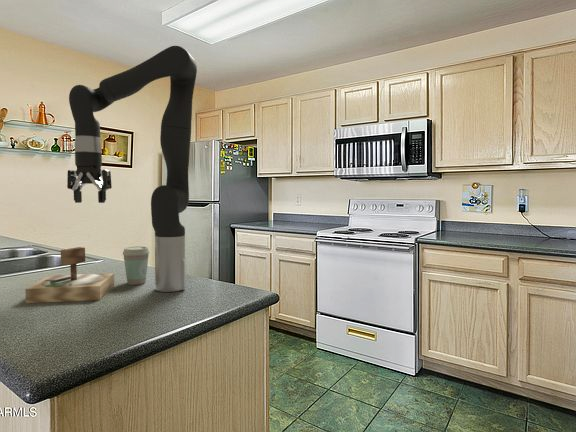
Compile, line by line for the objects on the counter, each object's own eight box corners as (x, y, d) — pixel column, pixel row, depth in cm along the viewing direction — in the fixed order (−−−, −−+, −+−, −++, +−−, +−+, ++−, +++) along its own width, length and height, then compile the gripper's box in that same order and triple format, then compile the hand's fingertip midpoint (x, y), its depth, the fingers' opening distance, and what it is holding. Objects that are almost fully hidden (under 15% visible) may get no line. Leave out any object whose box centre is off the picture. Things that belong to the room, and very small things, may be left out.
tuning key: (79, 276, 117) (79, 247, 116) (85, 277, 116) (85, 247, 115) (47, 284, 107) (46, 252, 106) (53, 285, 106) (52, 252, 105)
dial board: (114, 285, 124) (114, 272, 124) (100, 299, 107) (99, 284, 107) (50, 287, 120) (50, 274, 120) (25, 303, 103) (25, 287, 103)
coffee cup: (140, 286, 123) (140, 250, 122) (117, 284, 124) (116, 249, 124) (154, 280, 131) (154, 246, 130) (133, 279, 133) (132, 245, 132)
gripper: (115, 152, 121) (117, 202, 122) (77, 153, 124) (79, 202, 125) (100, 149, 114) (101, 203, 115) (59, 150, 116) (61, 202, 117)
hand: (89, 202), depth 120 cm, fingers open, 8 cm apart
